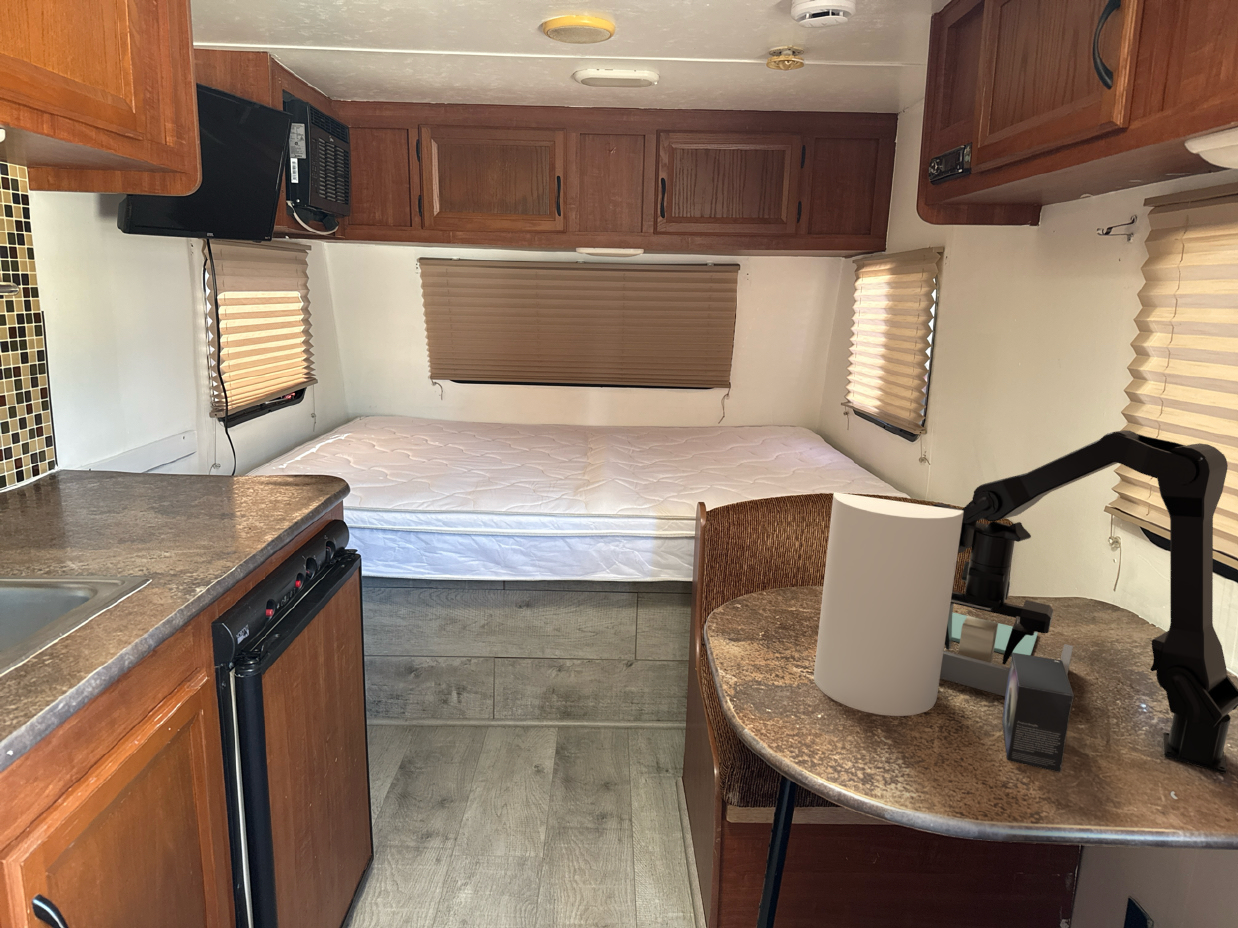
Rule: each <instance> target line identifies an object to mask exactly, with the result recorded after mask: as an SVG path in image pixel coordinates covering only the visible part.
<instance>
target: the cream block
mask: <svg viewBox="0 0 1238 928" xmlns="http://www.w3.org/2000/svg"><path fill="white" fill-rule="evenodd" d="M966 616H967V618H966V620H965V621H964V623H963V625H962V630H961V637H960V642H959V646H958V652H957V654H959V655H963V656H966V657H970V658H974V659H978V660H982V661H986V662H989V663H993V659H994V658H993V657H994V652H995V651H994V647H995V641H996V634H997V628H998V623H999V622H995V621H992V620H991V621H990V620H987V621H986V619H983V620H982V618H979V619H978V617H973V616H970V615H966ZM969 616H970V617H969Z"/></svg>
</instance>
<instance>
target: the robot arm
mask: <svg viewBox="0 0 1238 928" xmlns="http://www.w3.org/2000/svg"><path fill="white" fill-rule="evenodd" d="M1117 464H1120V465H1122V466H1125V467H1127V468H1129V469H1131V470H1134V471H1136V472H1137V473H1139V474H1143V475H1145V476H1148V477H1152V478H1154V479H1156V480H1157V485H1158V489H1159V493H1160V494H1159V495H1160V497H1161V499H1162V502H1163V504H1164V506H1165V509H1166V510H1167V513H1168V516H1169V518H1170V519H1169V520H1170V523H1169V524H1170V528H1169V529H1170V533H1169V534H1170V540H1169V541H1170V542H1169V543H1170V544H1169V545H1170V547H1169V549H1170V550H1169V551H1170V553H1169V554H1170V555H1169V556H1170V558H1169V559H1170V564H1169V565H1170V566H1169V568H1170V570H1169V571H1170V572H1169V573H1170V574H1169V575H1170V576H1169V577H1170V582H1169V583H1170V591H1169V592H1170V596H1169V597H1170V598H1169V599H1170V602H1169V603H1170V605H1169V606H1170V625H1169V628H1168V630H1167V631H1165V632H1164V633H1161V635H1160V634H1159V635H1158V636H1156V637H1155V638H1152V639H1151V650H1152V654H1153V662H1152V665H1151V667H1150V671H1151V672H1155V671H1156V672H1155V673H1156V675H1155V676H1156V682H1157V683H1158V685H1159V687H1161V689H1163V690H1164V691H1165V692H1166V696H1167V697H1166V698H1167V702H1168V707H1169V711H1170V713H1172V714H1173V717H1172V720H1171V721H1172V722H1171V724H1170V725H1171V726H1170V729H1169V730H1170V731H1169V732H1167V731H1166V732H1163V734H1162V745H1163V755H1164V757H1167V758H1170V759H1172V760H1176V761H1180V762H1184V763H1187V764H1190V765H1194V766H1197V767H1200V768H1204V769H1208V770H1211V771H1215V772H1218V773H1221V774H1227V772H1228V767H1227V766H1228V765H1227V762H1226V756H1225V752H1224V749H1225V746H1226V740H1227V738H1228V737H1227V736H1228V733H1229V727H1230V722H1231V719H1232V718H1231V716H1230V713H1231V712H1232V711H1234V710H1236V709H1237V708H1238V687H1237V686H1236V684H1235V683H1234V682H1233V681H1232V679H1231V678H1230V677H1229V676H1228V672H1227V664H1226V659H1225V654H1224V649H1223V645H1222V643H1221V641H1220V639H1219V637H1218V635H1217V632H1216V630H1215V628H1214V624H1213V622H1214V621H1213V619H1214V618H1213V612H1214V611H1213V609H1214V607H1213V604H1214V603H1213V602H1214V598H1213V595H1214V593H1213V592H1214V590H1213V587H1214V586H1213V585H1214V584H1213V583H1214V582H1213V580H1214V575H1213V573H1214V572H1213V571H1214V570H1213V568H1214V567H1213V565H1214V562H1213V561H1214V558H1213V557H1214V554H1213V553H1214V550H1213V549H1214V545H1213V544H1214V541H1213V540H1214V534H1213V533H1214V532H1213V531H1214V526H1213V525H1214V514H1215V512H1216V509H1217V507H1218V504H1219V501H1220V500H1221V497H1222V494H1223V491H1224V486H1225V481H1226V477H1227V473H1228V465H1229V464H1228V461H1227V458H1226V456H1225V454H1224V453H1223V452H1221V451H1220V450H1219V449H1218V448H1216V447H1215V446H1212V445H1211V444H1207V443H1193V444H1186V445H1185V444H1182V443H1180V442H1179V443H1178V442H1176V441H1171V440H1164V439H1160V438H1157V437H1151V436H1146V435H1143V434H1140V433H1136V432H1135V431H1132V430H1128V429H1127V430H1126V429H1124V430H1117V431H1112V432H1108V433H1105V434H1104V435H1103V436H1102V437H1101V438H1099V439H1097V440H1095V441H1093V442H1091V443H1089V444H1086V445H1084V446H1082V447H1080V448H1078V449H1076V450H1073V451H1071V452H1069V453H1067V454H1064V455H1063V456H1060V457H1058V458H1056V459H1054V460H1052V461H1049V462H1048V463H1046V464H1043V465H1041V466H1039V467H1036V468H1035V469H1032V470H1030V471H1028V472H1026V473H1021V474H1017V475H1014V476H1010V477H1009V476H1008V477H1006V478H1002V479H997V480H994V481H990V482H987V483H983V484H980V485H978V486H977V487H976V488H975V489H974V491H973V495H972V500H970V501H969V503H967V504H966V505H965V506H964V507H963V508H962V509H961V508H957V507H954V506H950V505H948V504H946V503H943V502H939V503H936V504H935V503H934V504H933V505H932V506H934V507H941V508H948V509H955V510H962V511H964V513H963V520H962V526H961V533H960V540H959V547H958V554H959V553H960V554H961V553H964V552H965V551H966V550H967V549H971V550H970V556H969V561H965V562H964V566H963V569H962V573H961V581H962V582H965V590H964V593H963V592H960V591H959V592H958V591H954V590H952V596H951V603H950V610H949V617H948V624H947V631H946V637H945V644H944V648H945V650H946V651H950V649H951V647H952V645H951V644H952V613H954V605H958V606H962V607H967V608H971V609H975V610H980V611H983V612H989V613H993V614H998V615H1000V616H1004V617H1005V616H1006V617H1009V618H1013V619H1014V618H1015V621H1014V622H1013V623H1014V624H1013V626H1012V627H1013V628H1012V631H1011V634H1010V637H1009V640H1008V643H1007V646H1006V649H1005V653H1004V654H1003V656H1002V665H1003V666H1005V665H1006V664H1007V662H1008V660H1009V659H1010V658H1011V657H1012V656H1011V654H1012V652H1013V650H1014V649H1015V647H1016V646H1017V645H1018V643H1019V642H1020V641H1021V640H1022V639H1023V638H1024V636H1025V635H1030V636H1033V635H1034V633H1035V632H1038V634H1040V633H1041V634H1049V631H1050V628H1051V624H1052V621H1053V616H1054V609H1053V608H1052V606H1051V605H1050V604H1045V603H1042V602H1036V601H1033V600H1028V599H1027V600H1025V601H1024V603H1023V604H1022V605H1017V604H1013V603H1008V602H1006V601H1007V600H1008V599H1009V591H1010V585H1011V583H1010V579H1011V577H1010V573H1011V572H1010V571H1011V565H1012V558H1013V552H1014V547H1015V542H1017V543H1019V542H1021V541H1022V542H1023V541H1025V540H1029V539H1031V538H1032V535H1031V533H1029V531H1028V530H1027V529H1026V528H1025V527H1024V526H1023V523H1022V522H1021V521H1018V522H1014V523H1011V524H1006V523H1003V522H999V521H1000V520H1005V519H1009V518H1013V517H1017V516H1019V515H1021V514H1022V513H1024V512H1026V511H1028V510H1029V509H1030V508H1031V507H1033V506H1035V505H1036V504H1037V503H1038V502H1040V500H1042V499H1043V498H1044V497H1045V496H1047V495H1048V494H1051V493H1052V492H1055V491H1057V490H1059V489H1061V488H1064V487H1066V486H1068V485H1070V484H1073V483H1076V482H1077V481H1080V480H1082V479H1084V478H1086V477H1087V478H1088V476H1092V475H1093V474H1095V473H1098V472H1100V471H1104V470H1105V469H1108V468H1110V467H1112V466H1115V465H1117ZM981 520H985V521H988V522H989V523H988V524H985V523H982V522H979V521H981Z"/></svg>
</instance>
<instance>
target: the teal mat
mask: <svg viewBox="0 0 1238 928" xmlns="http://www.w3.org/2000/svg"><path fill="white" fill-rule="evenodd" d="M967 616H969V617H971V616H970V615H966V614H961V613H957V612H953V613H952V640H951V642H956V643H960V637H961V630H962V625H963V623H964V621H965V620H966V618H967ZM977 618H978V617H977ZM978 619H980V618H978ZM981 619H982V618H981ZM982 620H984V619H982ZM985 620H986V619H985ZM986 621H988V620H986ZM997 623H998V628H997V634H996V641H995V647H994V652H996V653H1001V654H1003V655H1004V653H1005V649H1006V646H1007V643H1008V640H1009V637H1010V634H1011V631H1012V628H1013V626H1012V625H1008V624H1004V623H999V622H997ZM1038 634H1039V632H1035V633H1034V635H1033V636H1030V635H1025V636H1024V638H1023V639H1022V640H1021V641H1020V642H1019V643H1018V645H1017V646H1016V647H1015V649H1014V650H1013V652H1012V653H1019V654H1025V655H1031V656H1032V654H1033V650H1034V646H1035V644H1036V641H1037V638H1038ZM1010 657H1012V654H1011V656H1010Z"/></svg>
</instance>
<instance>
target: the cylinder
mask: <svg viewBox="0 0 1238 928" xmlns="http://www.w3.org/2000/svg"><path fill="white" fill-rule="evenodd" d="M831 505H832V506H831V512H830V513H831V515H830V523H829V525H830V526H829V533H828V543H827V550H826V562H825V569H824V570H825V571H824V577H823V578H824V579H823V586H822V587H823V588H822V597H821V607H820V616H819V625H818V636H817V641H816V642H817V644H816V653H815V662H814V670H813V680H814V683H815V685H816V687H817V688H818V689H819V690H820V691H821V692H822V693H823V694H825V695H826V696H828V697H829V698H830V699H832V700H833V701H835V702H837V703H839V704H842V705H844V706H846V707H849V708H851V709H854V710H855V709H856V710H858V711H862V712H865V713H870V714H875V715H882V716H892V717H894V716H895V717H904V716H905V717H907V716H914V715H915V716H916V715H918V714H922V713H925V712H927V711H929V710H930V709H932V708H933V707H934V706H935V704H936V703H937V698H938V693H939V685H940V680H941V678H940V672H941V665H942V658H943V651H945V637H946V631H947V624H948V617H949V610H950V603H951V596H952V591H953V588H954V582H955V573H956V567H957V560H958V554H959V553H958V547H959V540H960V533H961V526H962V520H963V513H964V511H962V509H961V510H955V509H948V508H941V507H934V506H933V505H925V504H920V503H919V504H918V503H913V502H906V501H899V500H892V499H885V498H878V497H871V496H864V495H857V494H856V495H855V494H851V493H844V492H835V491H834V492H833V497H832V504H831Z"/></svg>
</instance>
